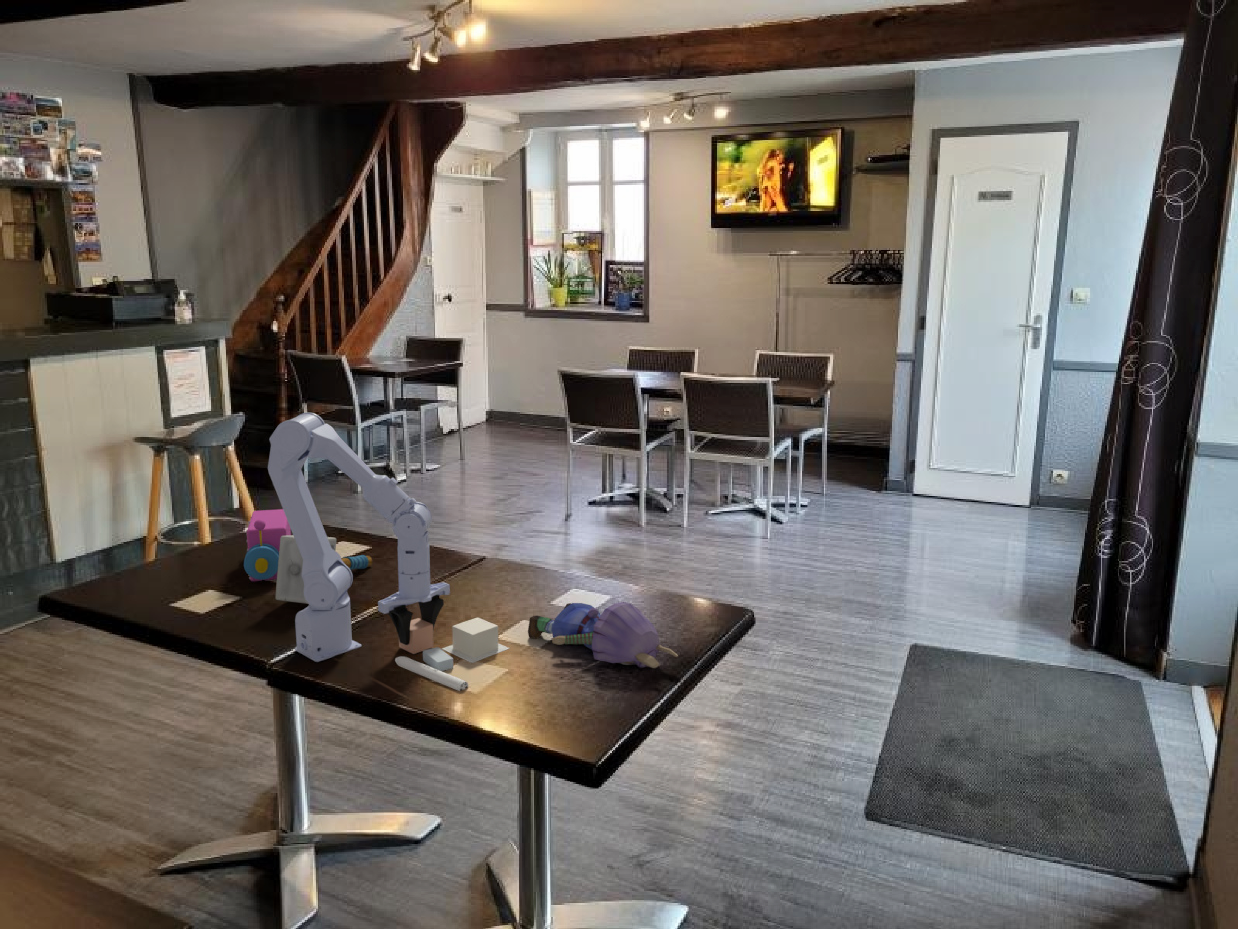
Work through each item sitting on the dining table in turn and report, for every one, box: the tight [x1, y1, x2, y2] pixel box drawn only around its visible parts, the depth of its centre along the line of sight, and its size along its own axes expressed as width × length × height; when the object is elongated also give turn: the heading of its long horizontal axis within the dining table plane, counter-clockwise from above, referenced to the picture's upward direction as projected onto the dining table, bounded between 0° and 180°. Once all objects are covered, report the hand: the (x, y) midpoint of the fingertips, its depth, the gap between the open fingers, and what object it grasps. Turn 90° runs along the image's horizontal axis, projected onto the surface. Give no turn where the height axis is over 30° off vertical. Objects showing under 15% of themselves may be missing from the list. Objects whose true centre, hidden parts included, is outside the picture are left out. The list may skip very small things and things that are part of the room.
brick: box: [422, 646, 454, 672], centre depth 164 cm, size 6×3×2 cm, turn 37°
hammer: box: [275, 534, 373, 605], centre depth 203 cm, size 8×13×30 cm
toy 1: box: [243, 508, 292, 582], centre depth 213 cm, size 28×9×15 cm, turn 17°
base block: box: [451, 617, 499, 658], centre depth 170 cm, size 6×6×4 cm
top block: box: [398, 617, 435, 655], centre depth 170 cm, size 4×4×4 cm
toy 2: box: [527, 601, 679, 669], centre depth 170 cm, size 18×11×30 cm
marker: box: [394, 655, 469, 692], centre depth 160 cm, size 18×2×2 cm, turn 53°
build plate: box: [441, 642, 511, 664], centre depth 171 cm, size 9×9×1 cm
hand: (416, 639), depth 170 cm, fingers closed on top block, 4 cm apart
